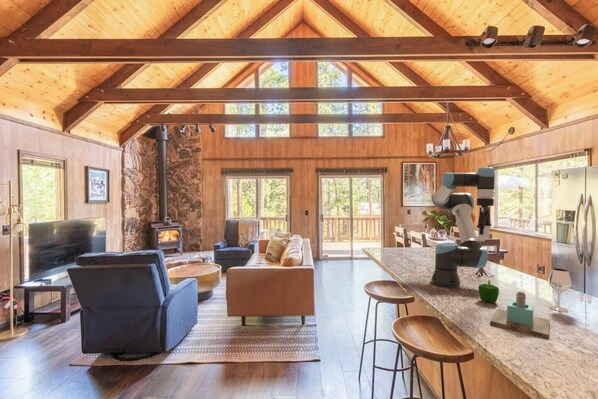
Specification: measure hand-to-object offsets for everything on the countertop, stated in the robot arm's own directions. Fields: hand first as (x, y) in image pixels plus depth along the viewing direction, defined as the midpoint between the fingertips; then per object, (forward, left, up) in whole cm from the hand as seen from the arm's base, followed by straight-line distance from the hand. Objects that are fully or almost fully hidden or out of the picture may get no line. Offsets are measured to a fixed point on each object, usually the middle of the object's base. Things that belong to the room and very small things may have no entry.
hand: (483, 239), depth 158 cm
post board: (+18, -30, -29) cm, 45 cm away
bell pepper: (+4, -8, -29) cm, 30 cm away
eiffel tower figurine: (-8, +49, -29) cm, 57 cm away
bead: (+18, -30, -27) cm, 44 cm away
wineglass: (+30, +3, -29) cm, 42 cm away
